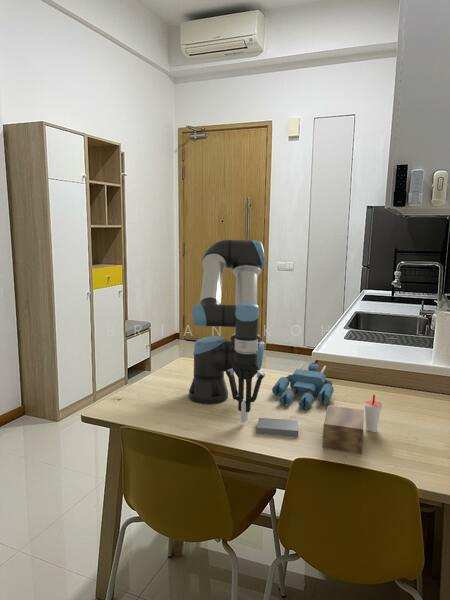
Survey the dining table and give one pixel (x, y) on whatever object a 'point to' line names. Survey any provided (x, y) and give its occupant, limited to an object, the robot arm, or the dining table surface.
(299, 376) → the toy
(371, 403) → the cup
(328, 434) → the brown wooden block
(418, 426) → the dining table surface
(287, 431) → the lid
